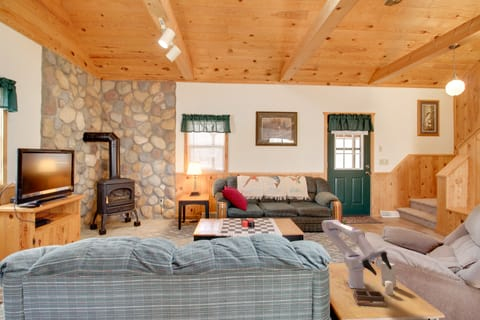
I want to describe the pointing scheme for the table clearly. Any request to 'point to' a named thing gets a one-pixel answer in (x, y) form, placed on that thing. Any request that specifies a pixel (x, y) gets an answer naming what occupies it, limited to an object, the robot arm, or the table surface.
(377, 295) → the socket board
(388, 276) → the skincare box
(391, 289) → the plug
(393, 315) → the table surface
